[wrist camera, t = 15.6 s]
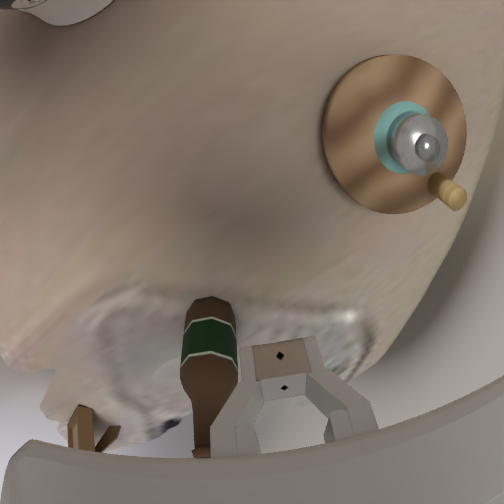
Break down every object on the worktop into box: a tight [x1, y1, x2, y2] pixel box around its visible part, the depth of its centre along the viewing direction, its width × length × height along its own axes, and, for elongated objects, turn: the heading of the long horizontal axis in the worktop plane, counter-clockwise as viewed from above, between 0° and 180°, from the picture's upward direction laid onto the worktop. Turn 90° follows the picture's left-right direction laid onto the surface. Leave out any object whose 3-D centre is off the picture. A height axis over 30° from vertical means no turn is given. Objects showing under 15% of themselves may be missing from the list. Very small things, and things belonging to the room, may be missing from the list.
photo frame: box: [67, 406, 121, 453], centre depth 62 cm, size 15×22×25 cm
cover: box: [387, 111, 448, 176], centre depth 28 cm, size 7×7×4 cm
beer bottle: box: [180, 297, 238, 458], centre depth 37 cm, size 8×8×24 cm
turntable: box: [322, 55, 467, 214], centre depth 29 cm, size 20×20×7 cm
